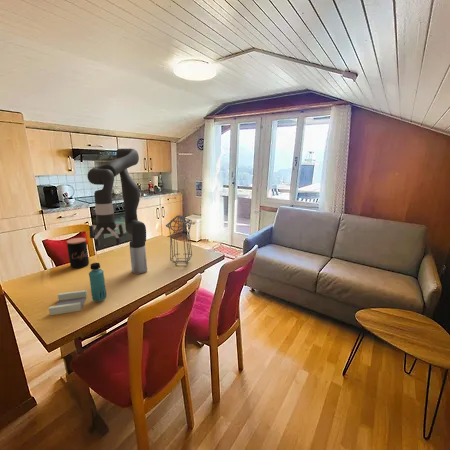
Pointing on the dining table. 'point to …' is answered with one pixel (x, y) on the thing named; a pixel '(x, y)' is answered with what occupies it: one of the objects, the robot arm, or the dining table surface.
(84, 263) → the coffee jar
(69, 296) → the cradle
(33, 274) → the dining table surface
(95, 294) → the beverage bottle
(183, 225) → the geometric lantern
